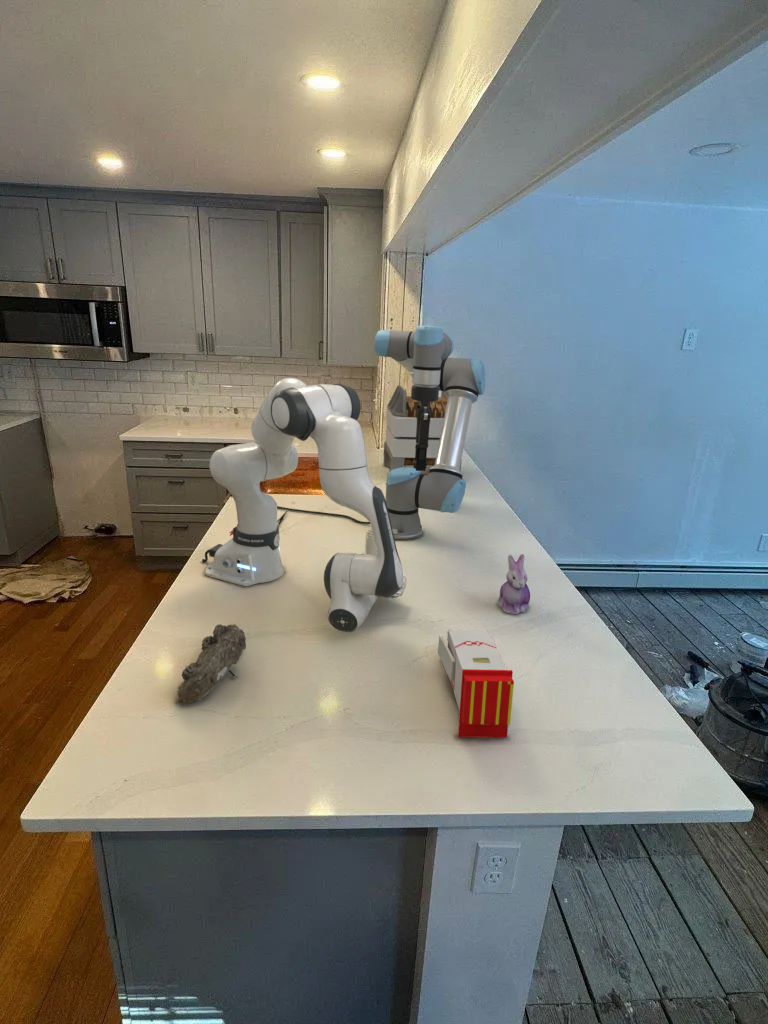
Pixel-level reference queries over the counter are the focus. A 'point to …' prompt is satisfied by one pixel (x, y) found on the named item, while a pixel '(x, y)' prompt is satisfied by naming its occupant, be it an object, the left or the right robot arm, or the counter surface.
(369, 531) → the bottle
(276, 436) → the left robot arm
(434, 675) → the counter surface
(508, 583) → the figurine
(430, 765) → the counter surface
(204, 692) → the fossil
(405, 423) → the grey slatted crate
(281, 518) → the feather
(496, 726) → the toy
